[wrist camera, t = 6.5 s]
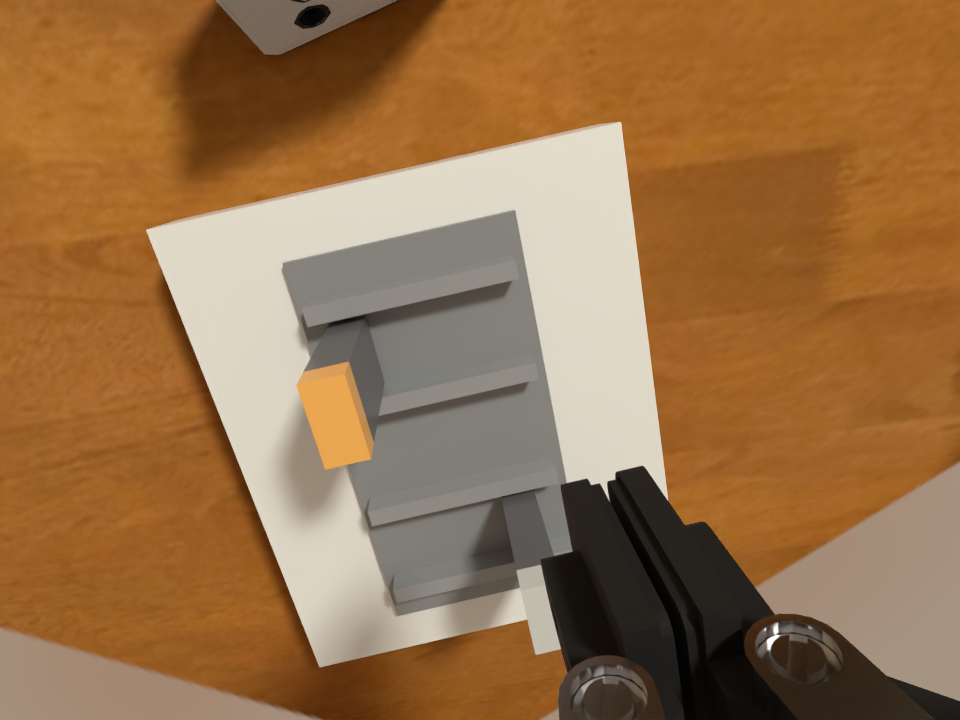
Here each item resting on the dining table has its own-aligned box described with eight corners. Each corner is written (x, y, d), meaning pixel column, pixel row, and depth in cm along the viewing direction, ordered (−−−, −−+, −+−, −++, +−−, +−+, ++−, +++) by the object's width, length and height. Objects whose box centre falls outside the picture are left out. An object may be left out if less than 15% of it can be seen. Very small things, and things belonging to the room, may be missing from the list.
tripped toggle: (365, 315, 27) (344, 373, 20) (384, 382, 28) (371, 459, 21) (329, 323, 27) (296, 385, 20) (349, 390, 28) (325, 469, 21)
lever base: (598, 124, 29) (698, 114, 18) (655, 543, 37) (747, 706, 26) (178, 219, 29) (33, 265, 18) (329, 619, 37) (289, 813, 26)
